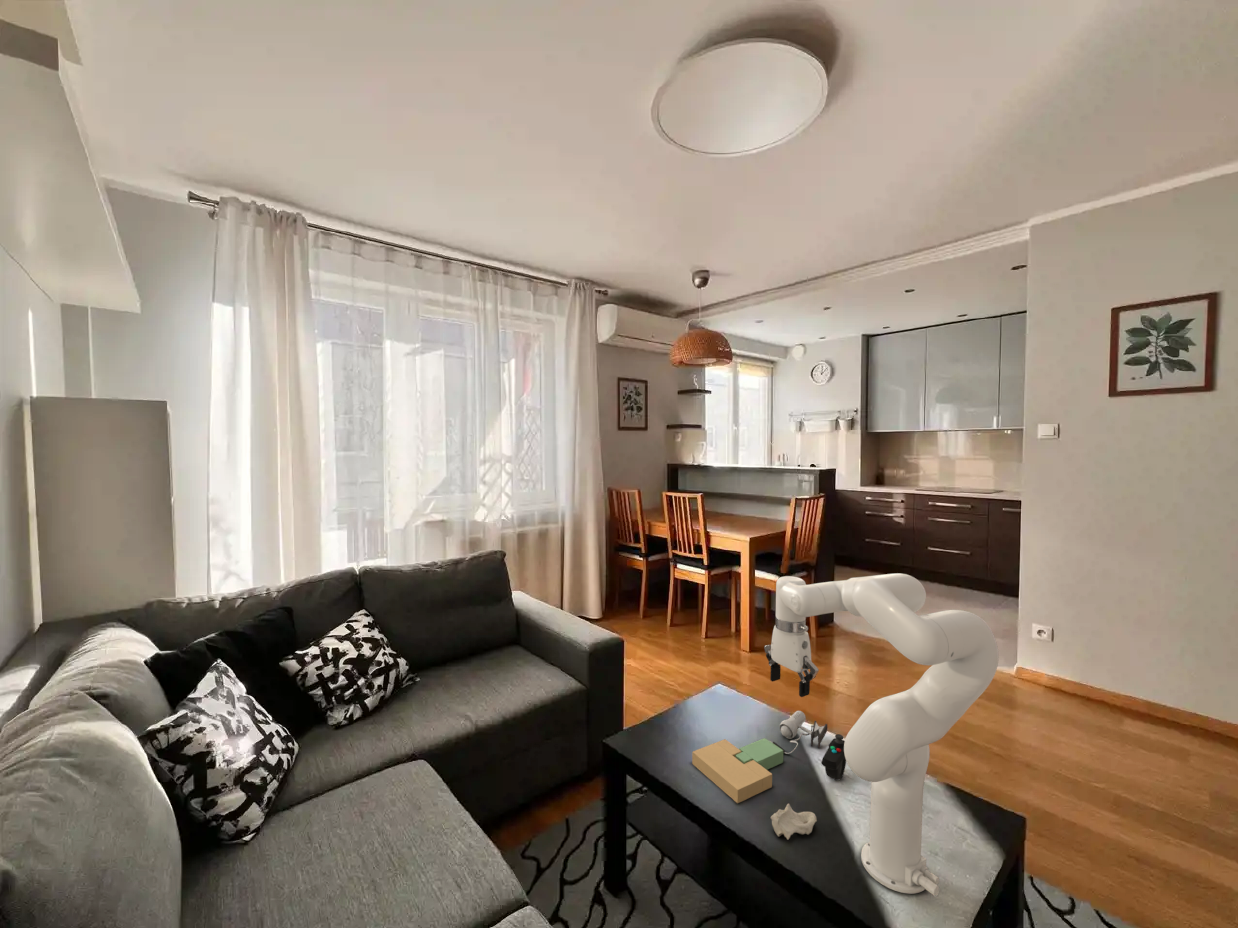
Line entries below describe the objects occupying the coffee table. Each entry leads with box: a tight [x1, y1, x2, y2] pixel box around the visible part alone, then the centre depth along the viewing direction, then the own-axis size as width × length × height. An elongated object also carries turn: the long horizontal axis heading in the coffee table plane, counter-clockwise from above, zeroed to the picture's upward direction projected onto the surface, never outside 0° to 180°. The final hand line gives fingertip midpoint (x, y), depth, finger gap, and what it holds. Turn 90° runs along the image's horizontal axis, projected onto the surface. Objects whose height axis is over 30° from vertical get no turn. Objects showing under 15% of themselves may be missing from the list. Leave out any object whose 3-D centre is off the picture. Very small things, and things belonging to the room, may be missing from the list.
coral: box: [770, 803, 818, 840], centre depth 119 cm, size 6×10×4 cm, turn 115°
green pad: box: [735, 737, 784, 771], centre depth 143 cm, size 7×13×4 cm, turn 120°
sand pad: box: [691, 738, 773, 804], centre depth 138 cm, size 18×12×4 cm, turn 30°
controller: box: [820, 733, 847, 781], centre depth 137 cm, size 4×12×10 cm, turn 141°
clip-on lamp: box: [769, 710, 828, 755], centre depth 152 cm, size 12×6×18 cm
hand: (789, 687), depth 137 cm, fingers open, 9 cm apart
